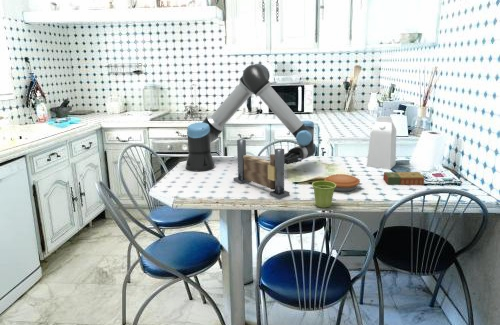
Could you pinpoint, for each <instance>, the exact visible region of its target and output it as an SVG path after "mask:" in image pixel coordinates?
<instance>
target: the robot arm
mask: <svg viewBox="0 0 500 325" xmlns="http://www.w3.org/2000/svg"><path fill="white" fill-rule="evenodd" d="M242 72H243V73H242V76H241V77H240V78H239V84H238V85H237V86H236V87H235V88H234V89H233V90H232V92H230V94H229V95H228V97H226V98H225V99H224V100H223V102H222V103H221V104H220V105H219V107H218V108H217V109H216V110H215V111H214V112H213V113H212V114H211V115H207V116H206V117H204V119H203V120H202V122H200V121H199V122H194V123H191V124H189V125H188V126H187V130H186V134H187V149H188V156H187V159H186V163H185V168H186V170H187V171H190V172H207V171H210V170H213V169H214V168H215V166H216V165H215V160H214V158H213V156H212V153H211V149H212V148H211V143H213V142H215V141H216V140H217V139H218V138H219V136H220V135H221V133H222V132H223V131H224V130H225V129H224V126H225V125H226V124H227V122H228V121H229V120H231V118H232V117H233V116H234V115H235V114H236V113H237V111H238V110H239V109H240V108H241V107H242V106H243V105H244V104H245V102H246V101H247V100H248V99H249V98H250V97H251V96H252V95H254V96H256V97H259V98H260V100H262V102H264V104H265V105H266V106H267V108H268V109H269V110H271V112H272V113H273V114H274V115H275V116H276V118H277V119H278V120H280V121H281V123H282V124H283V126H285V128H286V129H287V130H288V132H290V133H291V134H292V135H293V137H294V138H295V140H296V143H297V144H298V145H296V146H295V147H292V148H290V149H289V150H288V152H286V153H284V165H291V164H294V163H295V164H296V163H299V162H302V161H303V160H305V159H307V158H311V157H312V156H314V155H315V154H316V153H317V146H316V143H315V141H314V136H315V135H314V134H315V122H314V121H312V120H301V119H300V118H299V117H298V116H297V114H295V112H293V110H292V109H291V108H290V106H289V105H288V104H287V103H286V102H285V101H284V99H282V97H281V96H280V95H279V94H278V93H277V92H276V90H275V89H274V88H273V87H272V86H271V82H270V71H269V68H267V67H266V66H265V65H264V64H261V63H255V64H251V65H248V66H246V67H245V68H244V70H243V71H242Z"/></svg>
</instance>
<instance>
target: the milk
mask: <svg viewBox="0 0 500 325" xmlns="http://www.w3.org/2000/svg"><path fill="white" fill-rule="evenodd" d="M369 135H370V136H369V143H368V151H367V152H368V153H367V160H366V167H368V168H376V169H381V170H382V169H384V170H391V169H392V168H393V167H395V165H396V162H397V161H396V159H397V156H396V155H397V128H396V126H395V124H394V122H393V119H392V116H385V115H384V116H382V115H378V116H377V118H376V120H375V122H374V124H373V126H372V128H371V130H370V134H369Z"/></svg>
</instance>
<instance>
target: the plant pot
mask: <svg viewBox="0 0 500 325" xmlns="http://www.w3.org/2000/svg"><path fill="white" fill-rule="evenodd" d="M311 186H312V189H313V192H314V203H315V206H317V207H318V208H323V209H325V208H327V207H329V208H330V207H331V206H332V204H333V203H332V202H333V196H334V190H335V187H336V184H335V183H333V182H329V181H324V180H317V181H314V182H312V183H311Z"/></svg>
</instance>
